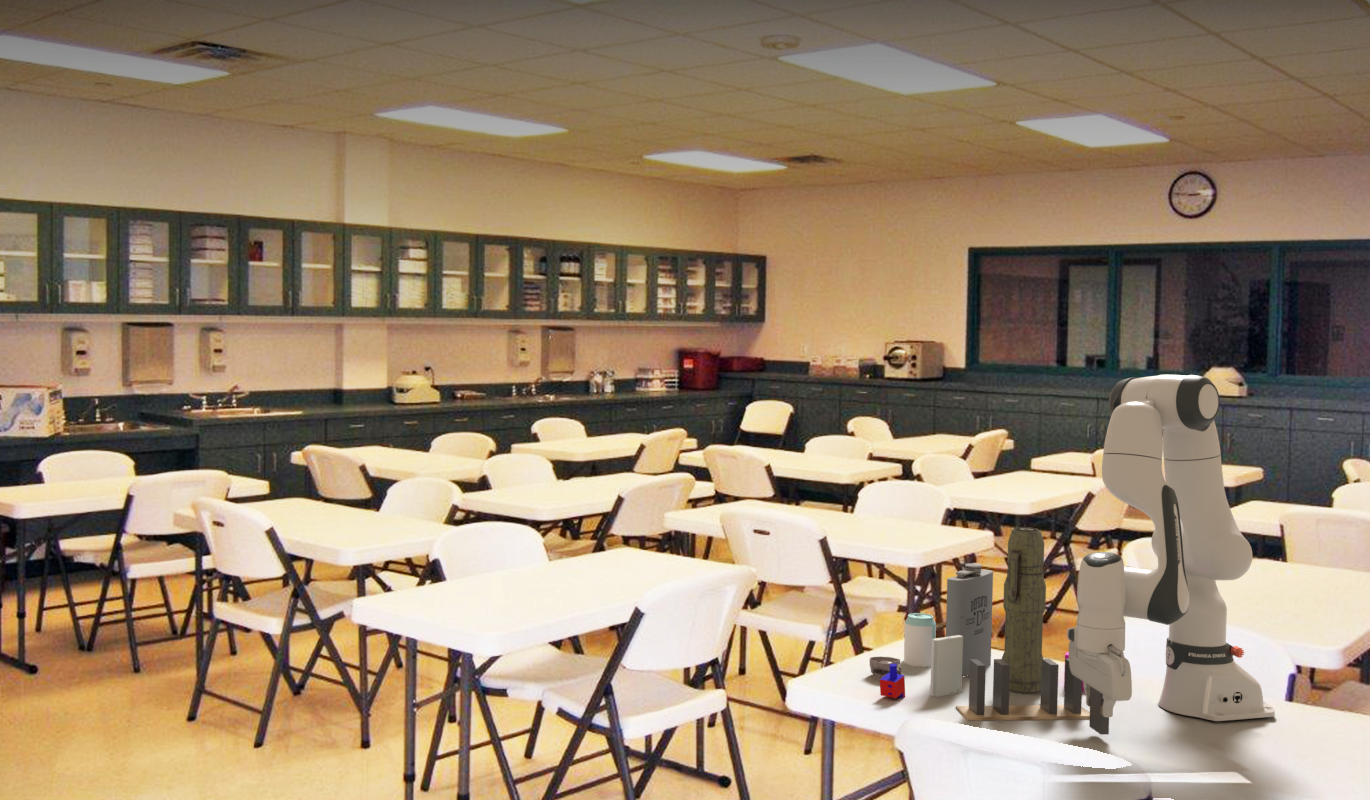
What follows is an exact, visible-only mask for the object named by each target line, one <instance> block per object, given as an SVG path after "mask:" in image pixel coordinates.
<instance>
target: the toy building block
mask: <svg viewBox="0 0 1370 800" xmlns="http://www.w3.org/2000/svg"><path fill="white" fill-rule="evenodd" d="M889 667H890V673H888V674H886V675H885V676H884V677H882V678H881V679H880V681H879V687H880V688H879V692H880V696H883V697H887V698H894V699H897V698H900V699H901V698H902V699H904V698H906V685H905V684H906V683H905V682H906V681H905V675H904V674H902V675H899V674H897V669H898V667H897V665H896V664H890V665H889Z"/></svg>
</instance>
